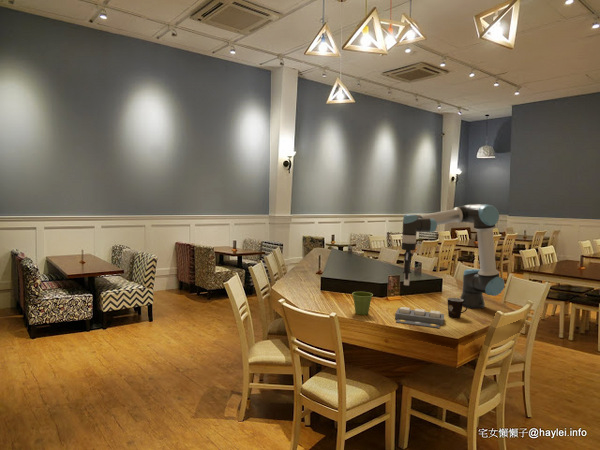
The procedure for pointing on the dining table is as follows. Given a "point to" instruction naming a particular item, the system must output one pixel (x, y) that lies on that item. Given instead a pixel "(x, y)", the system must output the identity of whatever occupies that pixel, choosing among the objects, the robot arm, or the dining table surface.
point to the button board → (419, 317)
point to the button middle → (419, 312)
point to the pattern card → (418, 323)
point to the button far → (405, 310)
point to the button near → (435, 314)
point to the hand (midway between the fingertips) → (406, 284)
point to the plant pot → (362, 302)
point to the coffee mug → (455, 307)
